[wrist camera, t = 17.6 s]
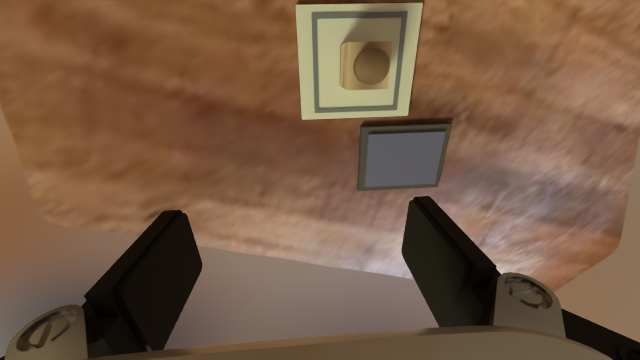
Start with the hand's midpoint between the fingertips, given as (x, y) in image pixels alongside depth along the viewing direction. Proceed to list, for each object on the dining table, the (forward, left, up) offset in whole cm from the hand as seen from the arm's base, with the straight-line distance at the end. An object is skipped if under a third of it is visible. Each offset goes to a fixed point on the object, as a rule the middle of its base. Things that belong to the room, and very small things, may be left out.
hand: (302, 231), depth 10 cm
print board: (-8, -6, -29) cm, 30 cm away
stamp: (-8, -6, -28) cm, 30 cm away
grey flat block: (-16, +8, -29) cm, 34 cm away
